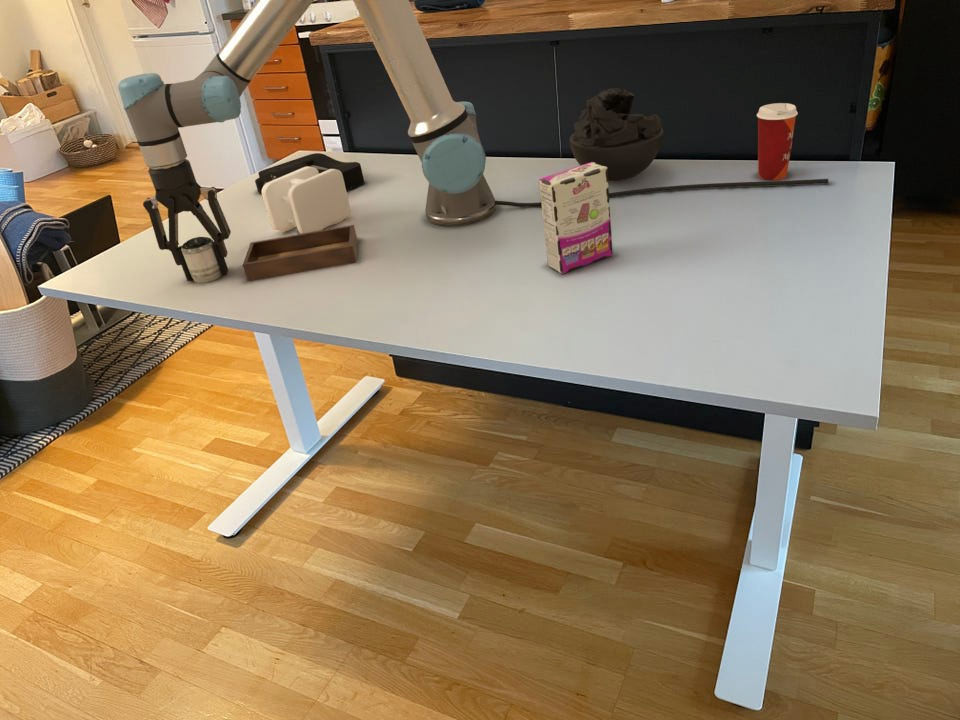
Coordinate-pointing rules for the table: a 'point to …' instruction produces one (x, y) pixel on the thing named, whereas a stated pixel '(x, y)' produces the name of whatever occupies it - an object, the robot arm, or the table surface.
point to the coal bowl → (616, 135)
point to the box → (301, 253)
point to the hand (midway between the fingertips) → (207, 275)
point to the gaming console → (318, 161)
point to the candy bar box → (576, 217)
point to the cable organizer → (306, 200)
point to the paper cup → (775, 139)
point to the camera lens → (201, 259)
